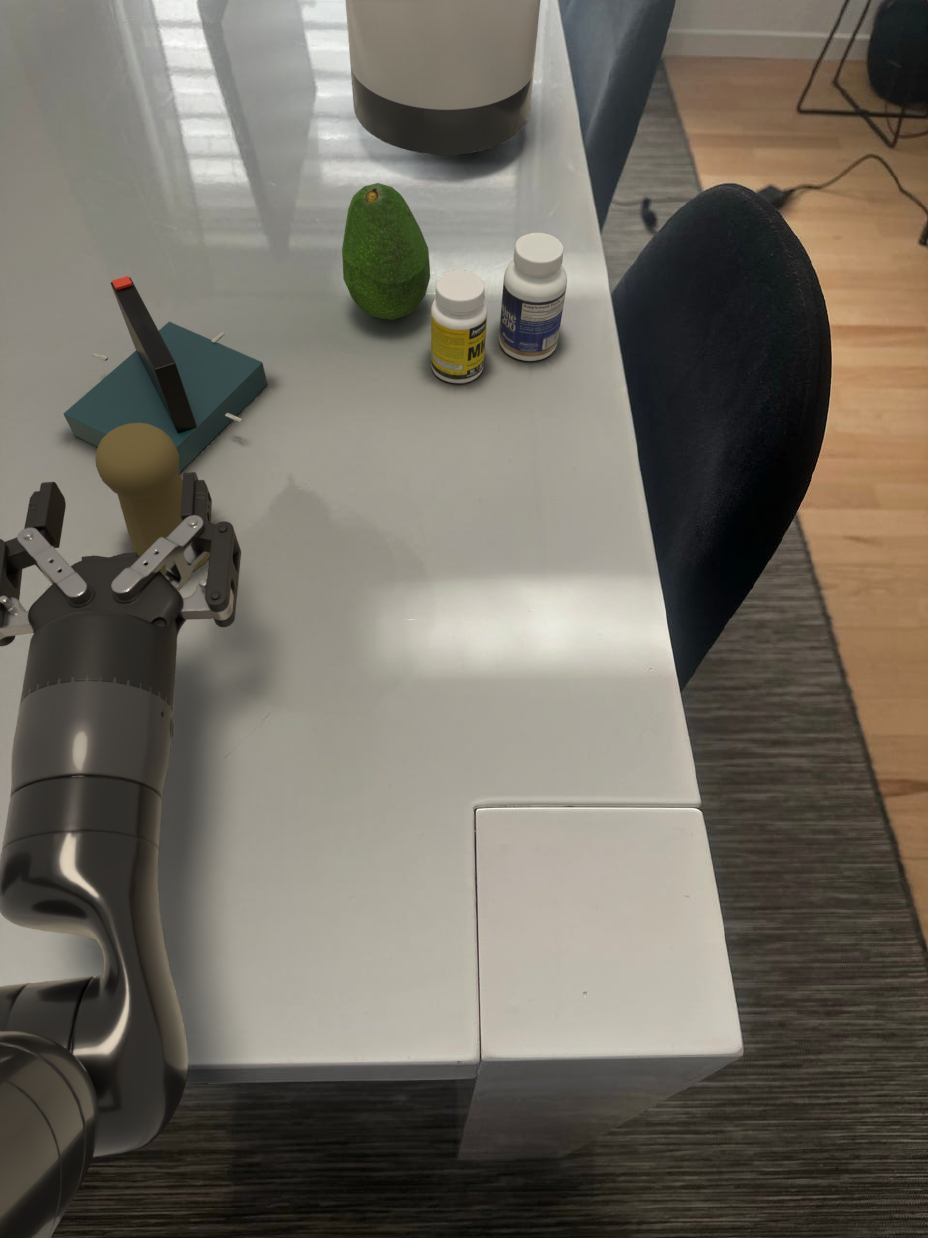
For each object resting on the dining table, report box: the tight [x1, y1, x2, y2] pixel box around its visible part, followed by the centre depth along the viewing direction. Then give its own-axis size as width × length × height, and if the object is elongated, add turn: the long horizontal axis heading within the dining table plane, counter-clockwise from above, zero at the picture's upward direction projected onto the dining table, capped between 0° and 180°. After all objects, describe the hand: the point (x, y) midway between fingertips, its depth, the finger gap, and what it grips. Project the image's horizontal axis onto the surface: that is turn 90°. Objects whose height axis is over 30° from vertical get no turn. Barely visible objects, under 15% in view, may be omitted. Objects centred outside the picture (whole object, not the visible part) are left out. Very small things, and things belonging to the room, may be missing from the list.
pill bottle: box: [498, 232, 568, 362], centre depth 72 cm, size 5×5×10 cm
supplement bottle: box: [430, 269, 488, 384], centre depth 71 cm, size 5×5×8 cm
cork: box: [95, 423, 210, 575], centre depth 58 cm, size 6×6×11 cm
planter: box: [344, 0, 541, 156], centre depth 86 cm, size 19×19×18 cm
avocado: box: [341, 182, 431, 321], centre depth 73 cm, size 8×8×12 cm
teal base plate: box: [63, 321, 268, 475], centre depth 69 cm, size 15×15×3 cm
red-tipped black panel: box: [110, 275, 197, 433], centre depth 65 cm, size 11×2×7 cm, turn 29°
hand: (123, 485), depth 53 cm, fingers open, 8 cm apart
